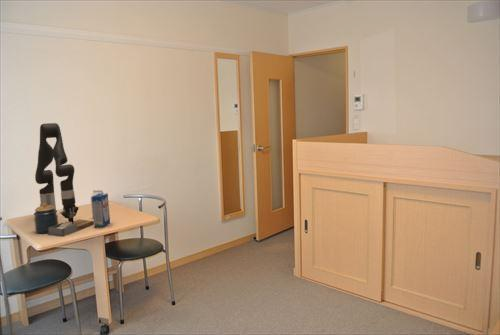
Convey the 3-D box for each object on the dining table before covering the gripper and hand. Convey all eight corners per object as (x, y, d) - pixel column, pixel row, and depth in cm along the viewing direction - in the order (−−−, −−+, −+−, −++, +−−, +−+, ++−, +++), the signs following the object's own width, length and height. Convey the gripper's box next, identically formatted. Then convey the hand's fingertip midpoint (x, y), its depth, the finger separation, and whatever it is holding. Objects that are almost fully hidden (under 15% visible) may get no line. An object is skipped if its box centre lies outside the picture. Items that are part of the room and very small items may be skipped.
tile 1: (53, 233, 239) (53, 228, 238) (60, 231, 243) (60, 226, 243) (60, 234, 237) (59, 229, 237) (66, 231, 242) (66, 227, 241)
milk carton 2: (100, 223, 261) (98, 193, 258) (110, 223, 260) (107, 193, 258) (94, 227, 251) (91, 196, 248) (104, 227, 250) (101, 196, 248)
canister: (34, 235, 239) (31, 206, 237) (36, 229, 251) (33, 202, 249) (58, 231, 244) (55, 203, 242) (59, 226, 256) (56, 199, 254)
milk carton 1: (101, 218, 272) (99, 191, 269) (92, 218, 273) (90, 191, 271) (107, 216, 279) (105, 189, 276) (98, 215, 280) (96, 189, 277)
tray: (48, 234, 239) (47, 227, 239) (62, 229, 249) (62, 222, 249) (63, 236, 235) (62, 229, 234) (77, 230, 245) (76, 224, 245)
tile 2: (61, 229, 244) (59, 225, 243) (67, 225, 248) (65, 221, 247) (67, 230, 242) (65, 226, 241) (73, 226, 246) (71, 221, 245)
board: (62, 229, 249) (62, 225, 249) (79, 223, 262) (79, 219, 262) (77, 230, 245) (77, 226, 245) (93, 224, 258) (93, 220, 258)
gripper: (71, 194, 252) (74, 220, 255) (54, 199, 240) (58, 226, 243) (80, 194, 250) (83, 221, 253) (64, 199, 238) (67, 227, 241)
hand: (71, 223), depth 248 cm, fingers closed
